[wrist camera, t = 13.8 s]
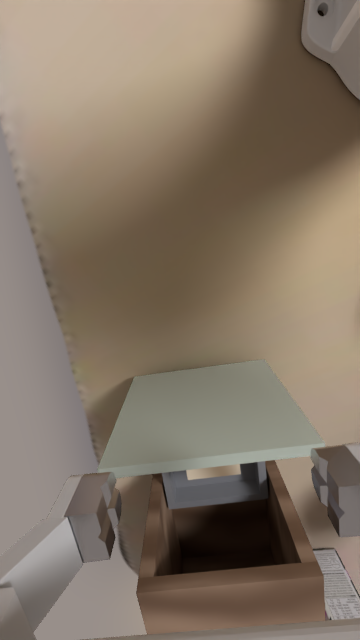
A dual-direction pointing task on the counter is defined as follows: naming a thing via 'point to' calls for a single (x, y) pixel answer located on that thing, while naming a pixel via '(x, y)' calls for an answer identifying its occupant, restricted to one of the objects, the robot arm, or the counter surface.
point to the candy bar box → (337, 587)
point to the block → (213, 472)
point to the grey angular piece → (208, 431)
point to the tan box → (227, 564)
